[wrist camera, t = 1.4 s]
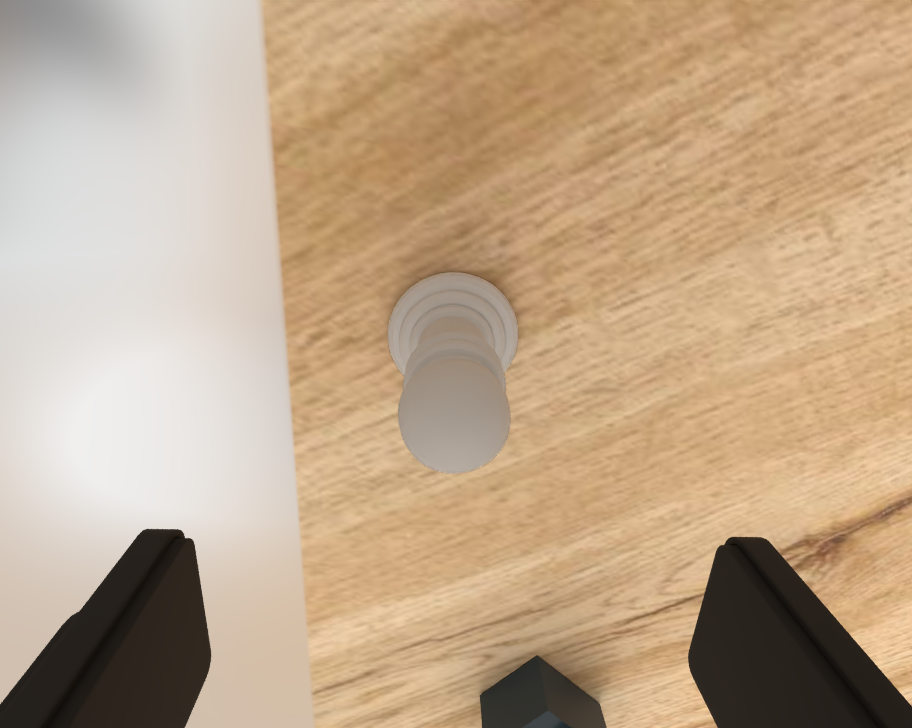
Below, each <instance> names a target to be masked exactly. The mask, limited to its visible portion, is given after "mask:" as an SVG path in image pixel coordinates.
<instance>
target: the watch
mask: <svg viewBox="0 0 912 728" xmlns="http://www.w3.org/2000/svg"><path fill="white" fill-rule="evenodd" d="M480 702H481V716H482V728H606V724H605V721H604V717H603V714H602V710H601V707H600V704H599V703H598V702H597V701H595V700H594V699H593V698H592V697H590V696H589V695H588V694H586V693H585V692H584V691H582V690H581V689H580V688H579V687H577V686H576V685H575V684H573V683H572V682H571V681H570V680H568V679H567V678H566V677H564V676H563V675H562V674H561V673H559V672H558V671H557V670H555V669H554V668H553V667H552V666H550V665H549V664H548V663H546V662H545V661H544V660H542V659H541V658H540V657H539V656H536V657H535V658H533V659H532V660H530V661H529V662H527V663H526V664H525V665H523V666H522V667H520V668H519V669H517V670H516V671H514V672H513V673H512V674H510V675H509V676H507V677H506V678H504V679H503V680H501V681H500V682H499V683H497V684H496V685H494V686H493V687H491V688H490V689H488V690H487V691H486V692H484V693H483V694H481V695H480Z"/></svg>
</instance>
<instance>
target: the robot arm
mask: <svg viewBox="0 0 912 728" xmlns="http://www.w3.org/2000/svg"><path fill="white" fill-rule="evenodd" d="M210 662H211V648H210V642H209V635H208V629H207V623H206V616H205V610H204V603H203V597H202V590H201V584H200V577H199V571H198V564H197V559H196V551H195V545H194V542H193V540H192V539H190V538H185V536H184V533H183V532H182V531H181V530H178V529H177V530H176V529H146V530H143V531H142V532H141V533H140V534H139V535H138V536H137V537H136V539H135V540H134V541H133V543H132V544H131V545H130V547H129V548H128V549H127V550H126V552H125V553H124V554H123V556H122V557H121V558H120V560H119V561H118V562H117V563H116V565H115V566H114V567H113V569H112V570H111V571H110V573H109V574H108V575H107V577H106V578H105V579H104V580H103V582H102V583H101V584H100V586H99V587H98V588H97V589H96V591H95V592H94V594H93V595H92V596H91V597H90V599H89V600H88V601H87V602H86V604H85V605H84V606H83V608H82V609H81V610H80V611H79V612H77V613H76V614H74V615H72V616H71V617H70V618H69V619H68V620H67V621H66V622H65V623H64V624H63V625H62V626H61V628H60V629H59V630H58V631H57V633H56V634H55V635H54V637H53V638H52V639H51V640H50V642H49V643H48V644H47V646H46V647H45V648H44V649H43V651H42V652H41V653H40V655H39V656H38V657H37V658H36V660H35V661H34V662H33V663H32V665H31V666H30V667H29V669H28V670H27V671H26V673H25V674H24V675H23V676H22V677H21V679H20V680H19V681H18V683H17V684H16V685H15V686H14V688H13V689H12V690H11V691H10V693H9V694H8V695H7V697H6V698H5V699H4V700H3V702H2V703H1V704H0V728H185V726H186V723H187V721H188V719H189V716H190V714H191V712H192V710H193V707H194V705H195V703H196V700H197V698H198V696H199V693H200V691H201V689H202V686H203V684H204V682H205V679H206V677H207V674H208V671H209V667H210ZM688 662H689V668H690V671H691V674H692V676H693V679H694V681H695V683H696V685H697V687H698V689H699V691H700V693H701V695H702V697H703V699H704V701H705V703H706V705H707V707H708V709H709V711H710V713H711V715H712V717H713V719H714V721H715V723H716V725H717V727H718V728H912V706H911V705H910V704H909V703H908V702H907V700H906V699H905V698H904V697H903V696H902V695H901V693H900V692H899V691H898V690H897V689H896V688H895V686H894V685H893V684H892V683H891V682H890V681H889V680H888V678H887V677H886V676H885V675H884V674H883V673H882V671H881V670H880V669H879V668H878V667H877V666H876V665H875V663H874V662H873V661H872V660H871V659H870V658H869V656H868V655H867V654H866V653H865V652H864V651H863V649H862V648H861V647H860V646H859V645H858V644H857V643H856V641H855V640H854V639H853V638H852V637H851V636H850V634H849V633H848V632H847V631H846V630H845V629H844V628H843V626H842V625H841V624H840V623H839V622H838V621H837V619H836V618H835V617H834V616H833V615H832V614H831V612H830V611H829V610H828V609H827V608H826V607H825V606H824V604H823V603H822V602H821V601H820V600H819V599H818V597H817V596H816V595H815V594H814V593H813V592H812V591H811V589H810V588H809V587H808V586H807V585H806V584H805V582H804V581H803V580H802V579H801V578H800V577H799V575H798V574H797V573H796V572H795V571H794V570H793V569H792V567H791V566H790V565H789V564H788V563H787V562H786V560H785V559H784V558H783V557H782V556H781V555H780V554H779V552H778V551H777V550H776V549H775V548H774V547H773V545H772V544H771V543H770V542H769V541H768V540H766V539H764V538H762V537H731V538H729V539H728V540H727V541H726V543H725V545H721V546H719V547H718V549H717V551H716V554H715V558H714V562H713V565H712V569H711V573H710V576H709V580H708V583H707V587H706V591H705V594H704V598H703V602H702V605H701V609H700V613H699V616H698V620H697V624H696V627H695V631H694V635H693V638H692V642H691V646H690V649H689V654H688Z"/></svg>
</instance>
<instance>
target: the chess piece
mask: <svg viewBox="0 0 912 728" xmlns="http://www.w3.org/2000/svg"><path fill="white" fill-rule="evenodd" d="M387 336H388V345H389V350H390V353H391V356H392V359H393V361H394V362H395V364H396V366H397V368H398V369H399V371H400V372H401V373H402V375H403V376H404V381H403V392H402V394H401V397H400V401H399V407H398V421H399V428H400V432H401V435H402V438H403V440H404V443H405V444H406V446H407V448H408V450H409V451H410V452H411V454H412V455H413V456H414V457H415V458H416V459H417V460H418V461H419V462H420V463H422V464H423V465H424V466H426V467H428V468H430V469H432V470H435V471H438V472H442V473H451V474H457V473H465V472H469V471H473V470H475V469H478V468H480V467H482V466H484V465H485V464H487V463H488V462H490V461H491V460H492V459H493V458H494V457H495V456H496V455H497V454H498V453H499V452H500V451H501V449H502V448H503V446H504V444H505V442H506V440H507V437H508V434H509V430H510V421H511V415H510V406H509V402H508V398H507V395H506V379H505V375H504V373H505V372H506V370H507V369H508V367H509V365H510V364H511V362H512V360H513V357H514V355H515V352H516V349H517V344H518V323H517V319H516V315H515V313H514V310H513V308H512V306H511V304H510V303H509V301H508V300H507V298H506V297H505V296H504V295H503V293H502V292H501V291H500V290H499V289H497V288H496V287H495V286H494V285H492V284H491V283H489V282H488V281H486V280H484V279H482V278H480V277H477V276H474V275H471V274H466V273H458V272H448V273H441V274H436V275H433V276H430V277H427V278H425V279H423V280H421V281H419V282H418V283H416V284H414V285H413V286H412V287H411V288H409V289H408V290H407V291H406V292H405V293H404V294H403V295H402V296H401V298H400V299H399V300H398V302H397V303H396V305H395V307H394V309H393V311H392V314H391V316H390V319H389V324H388V335H387Z"/></svg>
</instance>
